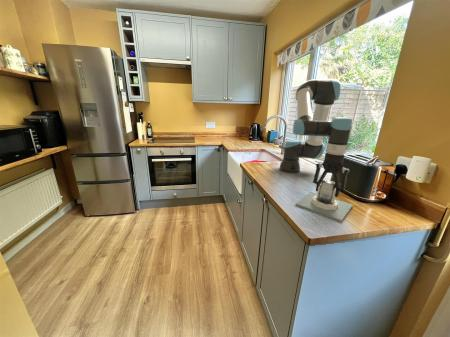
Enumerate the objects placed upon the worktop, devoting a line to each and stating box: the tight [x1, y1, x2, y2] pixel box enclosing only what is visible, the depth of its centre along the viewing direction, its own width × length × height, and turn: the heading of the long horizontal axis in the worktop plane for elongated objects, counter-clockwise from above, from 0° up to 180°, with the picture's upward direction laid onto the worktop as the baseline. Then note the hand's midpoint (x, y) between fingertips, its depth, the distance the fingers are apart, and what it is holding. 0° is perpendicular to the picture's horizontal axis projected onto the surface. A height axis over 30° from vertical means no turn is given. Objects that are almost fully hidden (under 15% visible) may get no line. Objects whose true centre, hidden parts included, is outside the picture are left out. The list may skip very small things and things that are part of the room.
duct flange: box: [295, 191, 354, 223], centre depth 92 cm, size 20×20×3 cm
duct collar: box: [318, 179, 336, 204], centre depth 90 cm, size 6×6×10 cm
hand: (325, 199), depth 91 cm, fingers closed on duct collar, 6 cm apart
